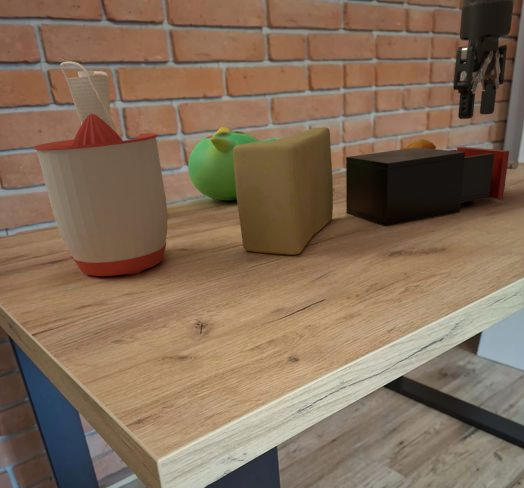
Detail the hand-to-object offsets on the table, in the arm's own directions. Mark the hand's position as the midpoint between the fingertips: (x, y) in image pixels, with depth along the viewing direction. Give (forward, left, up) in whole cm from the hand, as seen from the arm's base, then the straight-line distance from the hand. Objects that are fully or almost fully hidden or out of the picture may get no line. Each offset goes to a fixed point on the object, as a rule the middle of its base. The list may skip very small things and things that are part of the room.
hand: (476, 116), depth 87 cm
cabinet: (+14, +4, -14) cm, 20 cm away
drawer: (+2, 0, -13) cm, 13 cm away
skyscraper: (+66, -13, -14) cm, 69 cm away
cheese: (+33, +12, -14) cm, 38 cm away
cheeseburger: (+1, -22, -14) cm, 26 cm away
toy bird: (+42, -24, -14) cm, 50 cm away
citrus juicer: (+60, +18, -14) cm, 64 cm away
